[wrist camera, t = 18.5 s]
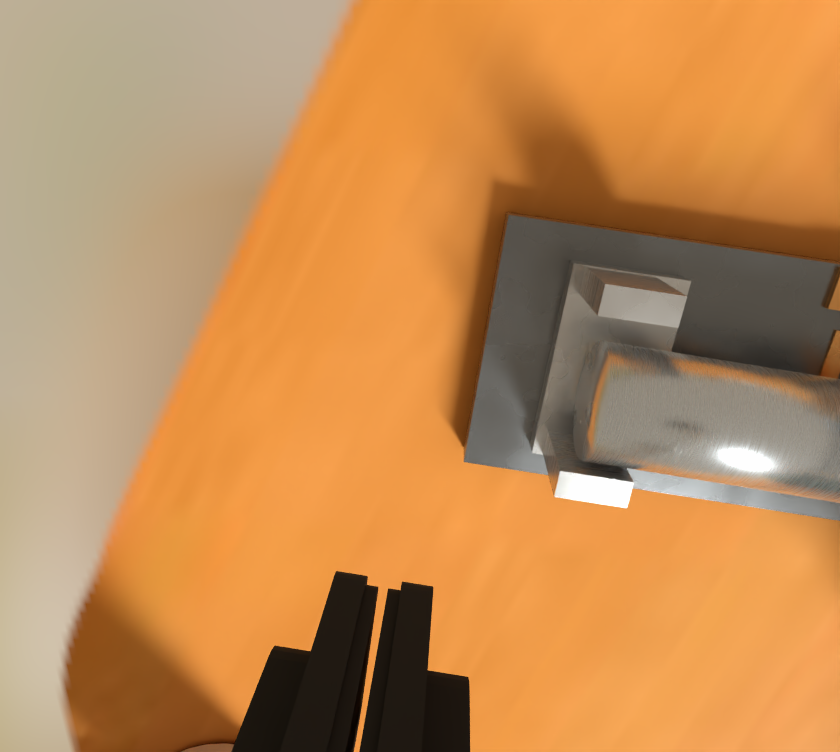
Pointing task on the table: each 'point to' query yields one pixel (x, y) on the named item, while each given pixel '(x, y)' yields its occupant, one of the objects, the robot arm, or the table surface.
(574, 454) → the cylinder mounting fixture
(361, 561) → the table surface
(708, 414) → the banded metal cylinder
